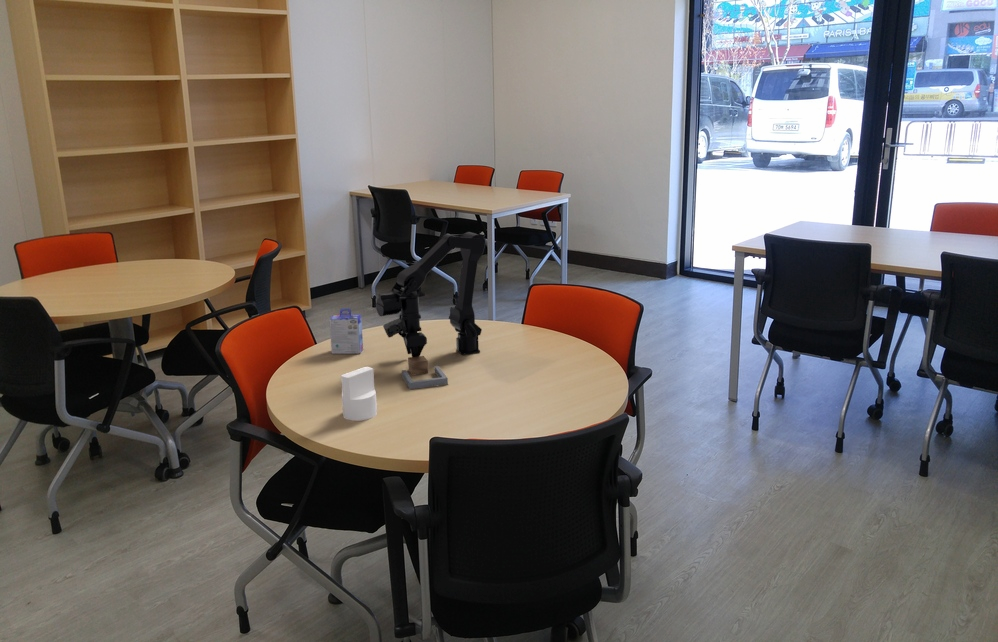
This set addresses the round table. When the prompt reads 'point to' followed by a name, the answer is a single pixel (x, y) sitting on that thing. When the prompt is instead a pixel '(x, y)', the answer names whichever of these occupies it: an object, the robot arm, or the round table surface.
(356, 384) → the cylinder with rectangular tab
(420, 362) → the walnut block
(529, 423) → the round table surface
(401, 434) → the round table surface
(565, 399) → the round table surface
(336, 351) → the ink cartridge box
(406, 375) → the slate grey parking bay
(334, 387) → the round table surface
